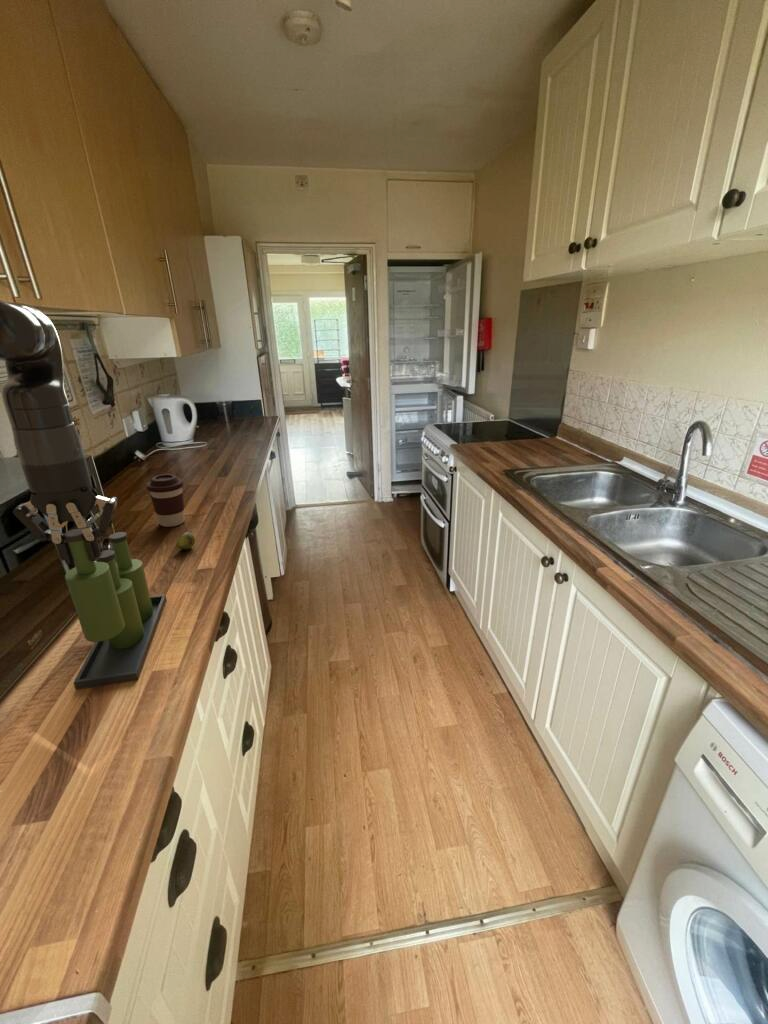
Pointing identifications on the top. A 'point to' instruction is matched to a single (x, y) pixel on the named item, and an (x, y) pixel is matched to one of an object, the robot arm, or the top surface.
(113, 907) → the top surface
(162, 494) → the coffee cup
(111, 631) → the bottle loose
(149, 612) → the bottle far
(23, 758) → the top surface
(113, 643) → the bottle mid
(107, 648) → the tray
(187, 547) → the lime
